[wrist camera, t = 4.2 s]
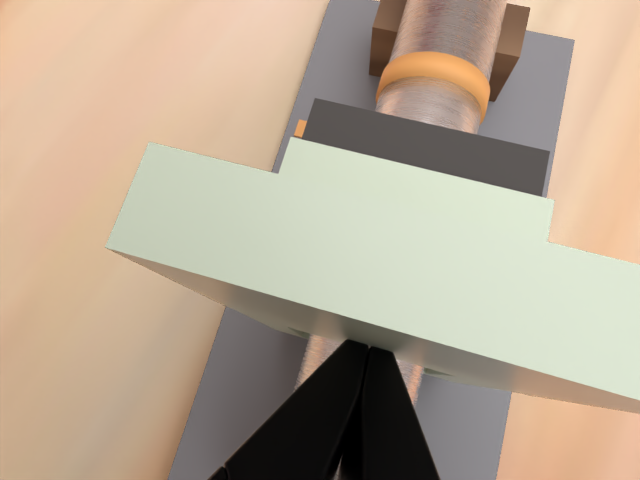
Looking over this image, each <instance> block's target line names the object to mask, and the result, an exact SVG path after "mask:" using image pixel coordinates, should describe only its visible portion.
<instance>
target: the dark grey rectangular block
mask: <svg viewBox="0 0 640 480" xmlns="http://www.w3.org/2000/svg"><path fill="white" fill-rule="evenodd" d="M302 140H306V141H311V142H315V143H319V144H323V145H327V146H331V147H336V148H340V149H344V150H348V151H352V152H356V153H361V154H365V155H369V156H373V157H377V158H381V159H386V160H390V161H394V162H398V163H402V164H406V165H411V166H415V167H419V168H423V169H427V170H432V171H436V172H440V173H444V174H448V175H452V176H457V177H461V178H465V179H469V180H473V181H477V182H482V183H486V184H490V185H494V186H498V187H502V188H507V189H511V190H515V191H519V192H523V193H528V194H532V195H536V196H540V197H542V193H543V188H544V182H545V177H546V171H547V166H548V160H549V155H550V151H547V150H543V149H538V148H534V147H529V146H525V145H521V144H516V143H512V142H507V141H503V140H499V139H494V138H490V137H485V136H481V135H477V134H472V133H468V132H463V131H459V130H454V129H450V128H446V127H441V126H437V125H432V124H428V123H424V122H419V121H415V120H410V119H406V118H402V117H397V116H393V115H388V114H384V113H380V112H375V111H371V110H366V109H362V108H358V107H353V106H349V105H344V104H340V103H336V102H331V101H327V100H322V99H318V98H315V99H314V102H313V105H312V108H311V111H310V114H309V117H308V120H307V123H306V126H305V129H304V132H303V135H302Z"/></svg>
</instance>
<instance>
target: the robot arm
mask: <svg viewBox="0 0 640 480" xmlns="http://www.w3.org/2000/svg"><path fill="white" fill-rule="evenodd" d="M340 460H341V461H340ZM339 463H340V466H339ZM338 466H339V472H338V479H337V480H441V479H440V476H439V474H438V471H437V468H436V465H435V463H434V460H433V457H432V455H431V452H430V449H429V447H428V444H427V441H426V439H425V436H424V433H423V430H422V428H421V425H420V422H419V420H418V417H417V414H416V412H415V409H414V406H413V404H412V401H411V398H410V396H409V393H408V390H407V387H406V385H405V382H404V379H403V377H402V374H401V371H400V369H399V366H398V363H397V361H396V358H395V355H394V353H393V352H391V351H388V350H384V349H381V348H377V347H374V346H371V347H370V348H369V346H368V345H367V344H364V343H360V342H357V341H353V340H350V339H346V340H345V341H344V342H343V343H342V344H341V345H340V346H339V347H338V348H337V349H336V350H335V351H334V352H333V353H332V354H331V355H330V356H329V357H328V358H327V359H326V360H325V361H324V362H323V363H322V364H321V365H320V366H319V367H318V368H317V369H316V370H315V371H314V372H313V373H312V374H311V375H310V376H309V377H308V378H307V379H306V380H305V381H304V382H303V383H302V384H301V385H300V386H299V387H298V388H297V389H296V390H295V391H294V392H293V393H292V394H291V395H290V396H289V397H288V398H287V399H286V400H285V401H284V402H283V403H282V404H281V405H280V406H279V407H278V408H277V409H276V410H275V411H274V412H273V413H272V415H271V416H270V417H269V418H268V419H267V420H266V421H265V422H264V423H263V424H262V425H261V426H260V427H259V428H258V429H257V430H256V431H255V432H254V433H253V434H252V435H251V436H250V437H249V438H248V439H247V440H246V441H245V442H244V443H243V444H242V445H241V446H240V447H239V448H238V449H237V450H236V451H235V452H234V453H233V454H232V455H231V456H230V457H229V458H228V459H227V460H226V461H225V462H224V466H220V467H219V468H218V469H217V470H216V471H215V472H214V473H213V474H212V475H211V476H210V477H209V478H208V479H207V480H334V478H335V475H336V472H337V469H338Z"/></svg>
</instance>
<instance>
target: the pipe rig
mask: <svg viewBox="0 0 640 480" xmlns="http://www.w3.org/2000/svg"><path fill="white" fill-rule="evenodd" d="M529 12H530V8H529V7H524V6H518V5H513V4H508V3H507V0H381V1H380V2H378V1H373V0H330V1H329V4H328V7H327V10H326V13H325V16H324V19H323V22H322V25H321V28H320V31H319V33H318V36H317V39H316V42H315V45H314V48H313V51H312V54H311V57H310V60H309V63H308V66H307V69H306V72H305V75H304V78H303V81H302V84H301V87H300V90H299V92H298V95H297V98H296V101H295V104H294V107H293V110H292V113H291V116H290V119H289V122H288V125H287V128H286V131H285V134H284V137H283V140H282V143H281V146H280V149H279V152H278V154H277V157H276V160H275V163H274V166H273V169H272V173H276V174H278V173H279V170H280V167H281V164H282V161H283V158H284V155H285V152H286V149H287V146H288V143H289V140H290V137H294V138H298V139H302V135H303V132H304V129H305V126H306V123H307V120H308V117H309V114H310V111H311V108H312V105H313V102H314V99H315V98H318V99H322V100H327V101H331V102H336V103H340V104H344V105H349V106H353V107H358V108H362V109H366V110H371V111H375V112H380V113H384V114H388V115H393V116H397V117H402V118H406V119H410V120H415V121H419V122H424V123H428V124H432V125H437V126H441V127H446V128H450V129H454V130H459V131H463V132H468V133H472V134H477V135H481V136H485V137H490V138H494V139H499V140H503V141H507V142H512V143H516V144H521V145H525V146H529V147H534V148H538V149H543V150H547V151H550V155H549V160H548V166H547V171H546V177H545V182H544V188H543V193H542V197H544V198H546V197H547V192H548V186H549V180H550V175H551V169H552V164H553V158H554V152H555V147H556V141H557V136H558V130H559V125H560V119H561V113H562V108H563V102H564V97H565V91H566V85H567V80H568V74H569V69H570V63H571V58H572V52H573V46H574V41H575V40H572V39H567V38H562V37H557V36H552V35H546V34H541V33H536V32H531V31H526V26H527V22H528V17H529ZM341 344H342V343H340V342H337V341H333V340H330V339H327V338H323V337H320V336H316V335H313V334H310V336H309V340H308V339H305V338H301V337H298V336H295V335H291V334H288V333H285V332H281V331H278V330H275V329H273V328H271V327H269V326H267V325H265V324H263V323H261V322H259V321H257V320H255V319H253V318H250V317H248V316H246V315H244V314H242V313H240V312H238V311H236V310H234V309H232V308H228V307H226V308H225V311H224V314H223V317H222V320H221V323H220V326H219V329H218V332H217V334H216V337H215V340H214V343H213V346H212V349H211V352H210V355H209V358H208V361H207V364H206V367H205V370H204V373H203V376H202V379H201V382H200V385H199V388H198V391H197V393H196V396H195V399H194V402H193V405H192V408H191V411H190V414H189V417H188V420H187V423H186V426H185V429H184V432H183V435H182V438H181V441H180V444H179V447H178V450H177V453H176V455H175V458H174V461H173V464H172V467H171V470H170V473H169V476H168V479H167V480H207V479H208V478H209V477H210V476H211V475H212V474H213V473H214V472H215V471H216V470H217V469H218V468H219V467H220V466H224V462H225V461H226V460H227V459H228V458H229V457H230V456H231V455H232V454H233V453H234V452H235V451H236V450H237V449H238V448H239V447H240V446H241V445H242V444H243V443H244V442H245V441H246V440H247V439H248V438H249V437H250V436H251V435H252V434H253V433H254V432H255V431H256V430H257V429H258V428H259V427H260V426H261V425H262V424H263V423H264V422H265V421H266V420H267V419H268V418H269V417H270V416H271V415H272V413H273V412H274V411H275V410H276V409H277V408H278V407H279V406H280V405H281V404H282V403H283V402H284V401H285V400H286V399H287V398H288V397H289V396H290V395H291V394H292V393H293V392H294V391H295V390H296V389H297V388H298V387H299V386H300V385H301V384H302V383H303V382H304V381H305V380H306V379H307V378H308V377H309V376H310V375H311V374H312V373H313V372H314V371H315V370H316V369H317V368H318V367H319V366H320V365H321V364H322V363H323V362H324V361H325V360H326V359H327V358H328V357H329V356H330V355H331V354H332V353H333V352H334V351H335V350H336V349H337V348H338V347H339V346H340V345H341ZM396 361H397V363H398V366H399V369H400V371H401V374H402V377H403V379H404V382H405V385H406V387H407V390H408V393H409V396H410V398H411V401H412V404H413V406H414V409H415V412H416V414H417V417H418V420H419V422H420V425H421V428H422V430H423V433H424V436H425V439H426V441H427V444H428V447H429V449H430V452H431V455H432V457H433V460H434V463H435V465H436V468H437V471H438V474H439V476H440V479H441V480H496V476H497V471H498V465H499V459H500V454H501V448H502V443H503V437H504V432H505V426H506V420H507V415H508V409H509V404H510V398H511V392H510V391H504V390H498V389H491V388H485V387H479V386H473V385H467V384H461V383H455V382H450V381H447V380H444V379H440V378H437V377H433V376H430V375H427V374H423V371H424V367H422V366H419V365H415V364H412V363H408V362H405V361H402V360H398V359H396ZM340 461H341V460H340ZM339 466H340V463H339ZM339 466H338V469H337V472H336V475H335V478H334V480H337V479H338V472H339Z"/></svg>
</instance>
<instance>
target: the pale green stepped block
mask: <svg viewBox="0 0 640 480" xmlns="http://www.w3.org/2000/svg"><path fill="white" fill-rule="evenodd" d="M554 201H555V200H553V199H548V198H544V197H540V196H536V195H532V194H528V193H523V192H519V191H515V190H511V189H507V188H502V187H498V186H494V185H490V184H486V183H482V182H477V181H473V180H469V179H465V178H461V177H457V176H452V175H448V174H444V173H440V172H436V171H432V170H427V169H423V168H419V167H415V166H411V165H406V164H402V163H398V162H394V161H390V160H386V159H381V158H377V157H373V156H369V155H365V154H361V153H356V152H352V151H348V150H344V149H340V148H336V147H331V146H327V145H323V144H319V143H315V142H311V141H306V140H302V139H298V138H294V137H290V140H289V143H288V146H287V149H286V152H285V155H284V158H283V161H282V164H281V167H280V170H279V173H278V174H276V173H272V172H268V171H264V170H260V169H256V168H252V167H248V166H244V165H240V164H236V163H232V162H228V161H224V160H220V159H216V158H212V157H208V156H204V155H201V154H197V153H193V152H189V151H185V150H181V149H177V148H173V147H169V146H165V145H161V144H157V143H153V142H149V143H148V145H147V148H146V150H145V153H144V155H143V157H142V160H141V162H140V165H139V167H138V169H137V172H136V174H135V177H134V179H133V181H132V184H131V186H130V189H129V191H128V193H127V196H126V198H125V201H124V203H123V205H122V208H121V210H120V213H119V215H118V217H117V220H116V222H115V225H114V227H113V229H112V232H111V234H110V237H109V239H108V241H107V244H106V246H105V248H107V249H109V250H111V251H113V252H115V253H117V254H119V255H122V256H124V257H126V258H128V259H130V260H132V261H134V262H136V263H138V264H140V265H142V266H144V267H146V268H148V269H150V270H152V271H154V272H156V273H159V274H161V275H163V276H165V277H167V278H169V279H171V280H173V281H175V282H177V283H179V284H181V285H183V286H185V287H187V288H189V289H191V290H193V291H196V292H198V293H200V294H202V295H204V296H206V297H208V298H210V299H212V300H214V301H216V302H218V303H220V304H222V305H224V306H226V307H228V308H232V309H234V310H236V311H238V312H240V313H242V314H244V315H246V316H248V317H250V318H253V319H255V320H257V321H259V322H261V323H263V324H265V325H267V326H269V327H271V328H273V329H275V330H278V331H281V332H285V333H288V334H291V335H295V336H298V337H301V338H305V339H308V340H309V336H310V334H313V335H316V336H320V337H323V338H327V339H330V340H333V341H337V342H340V343H343V342H344V341H345V340H346V339H350V340H353V341H357V342H360V343H364V344H367V345H368V346H369V348H370V347H371V346H374V347H377V348H381V349H384V350H388V351H391V352H393V353H394V355H395V358H396V359H398V360H402V361H405V362H408V363H412V364H415V365H419V366H422V367H424V371H423V374H427V375H430V376H433V377H437V378H440V379H444V380H447V381H450V382H455V383H461V384H467V385H473V386H479V387H485V388H491V389H498V390H504V391H510V392H516V393H522V394H525V395H530V396H536V397H542V398H548V399H554V400H560V401H566V402H572V403H578V404H584V405H590V406H596V407H602V408H608V409H614V410H620V411H626V412H632V413H638V414H640V265H639V264H635V263H631V262H627V261H623V260H619V259H615V258H611V257H607V256H603V255H599V254H595V253H591V252H587V251H583V250H579V249H575V248H571V247H567V246H563V245H559V244H555V243H551V242H548V236H549V230H550V224H551V219H552V213H553V207H554Z"/></svg>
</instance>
